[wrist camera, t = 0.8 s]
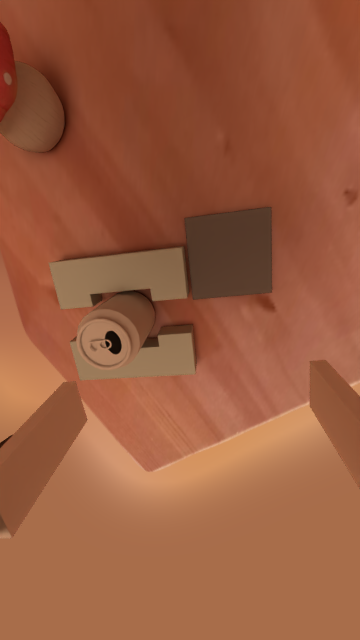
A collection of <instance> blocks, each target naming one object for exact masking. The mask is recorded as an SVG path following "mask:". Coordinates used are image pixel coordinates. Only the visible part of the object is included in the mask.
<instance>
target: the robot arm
mask: <svg viewBox="0 0 360 640" xmlns="http://www.w3.org/2000/svg"><path fill="white" fill-rule="evenodd" d="M310 407H311V408H312V411H313V412H314V414H315V416H316V417H317V419H318V421H319V422H320V424H321V426H322V427H323V429H324V431H325V432H326V434H327V435H328V437H329V439H330V440H331V442H332V444H333V445H334V447H335V449H336V450H337V452H338V454H339V455H340V457H341V459H342V460H343V462H344V463H345V465H346V467H347V469H348V470H349V472H350V474H351V475H352V477H353V479H354V480H355V482H356V484H357V485H358V487H359V489H360V396H359V395H358V394H357V393H356V392H355V391H354V390H353V389H352V388H351V387H350V386H349V384H348V383H347V382H346V381H345V380H344V379H343V378H342V377H341V376H340V375H339V374H338V373H337V372H336V371H335V370H334V369H333V368H332V366H331V365H330V364H329V363H328V362H327V361H326V360H319V361H310ZM86 421H87V417H86V414H85V410H84V407H83V404H82V401H81V397H80V394H79V391H78V388H77V384H76V381H73V382H64V383H62V385H61V386H60V387H59V388H58V389H57V390H56V391H55V392H54V393H53V394H52V395H51V396H50V397H49V398H48V399H47V400H46V401H45V402H44V403H43V404H42V405H41V406H40V408H38V409H37V411H36V412H35V413H34V414H33V415H32V416H31V417H30V418H29V419H28V420H27V421H26V422H25V423H24V424H23V425H22V426H21V427H20V428H19V429H18V430H17V432H15V433H14V434H13V435H11V436H10V437H8V438H7V439H5V440H4V441H2V442H1V443H0V538H12V537H13V536H14V534H15V533H16V531H17V530H18V528H19V526H20V525H21V523H22V522H23V520H24V519H25V517H26V516H27V514H28V512H29V511H30V509H31V508H32V506H33V505H34V503H35V501H36V500H37V498H38V497H39V495H40V494H41V492H42V490H43V489H44V487H45V486H46V484H47V482H48V481H49V479H50V478H51V476H52V475H53V473H54V472H55V470H56V469H57V467H58V465H59V463H60V462H61V461H62V459H63V458H64V456H65V454H66V453H67V451H68V450H69V448H70V447H71V445H72V443H73V442H74V440H75V439H76V437H77V436H78V434H79V433H80V431H81V429H82V428H83V426H84V425H85V423H86Z"/></svg>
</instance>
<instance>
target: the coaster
mask: <svg viewBox="0 0 360 640" xmlns="http://www.w3.org/2000/svg"><path fill="white" fill-rule="evenodd" d="M185 228H186V238H187V247H188V257H189V267H190V276H191V286H192V296H193V299H205V298H216V297H227V296H238V295H249V294H261V293H272V224H271V207H266V208H259V209H251V210H243V211H236V212H228V213H220V214H213V215H205V216H197V217H190V218H185Z"/></svg>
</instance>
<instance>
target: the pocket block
mask: <svg viewBox="0 0 360 640" xmlns="http://www.w3.org/2000/svg"><path fill="white" fill-rule="evenodd" d="M49 267H50V270H51V274H52V278H53V281H54V285H55V289H56V293H57V296H58V300H59V304H60V307H61V309H71V308H82V307H93V306H94V305H96V304H97V303H99V302H100V301H102V296H101V293H108V292H119V291H129V290H139V289H151V296H152V301H160V300H171V299H182V298H187V297H188V294H189V288H188V278H187V269H186V260H185V250H184V246H179V247H171V248H162V249H154V250H145V251H136V252H128V253H119V254H111V255H102V256H94V257H85V258H76V259H68V260H60V261H56V262H51V263H49ZM76 339H77V336H76V337H75V338H74V339H73V340H71V341H70V344H71V348H72V352H73V356H74V359H75V363H76V367H77V370H78V374H79V378H80V380H94V379H113V378H133V377H152V376H171V375H191V374H196V364H197V362H196V353H195V344H194V334H193V325H179V326H166V327H161V329H160V331H159V334H158V338H147V339H146V340H145V342H144V344H143V345H142V347H141V349H140V351H139V352H138V354H137V356H136V357H135V358H134V360H133V361H132V362H131V363H129V364H128V365H126V366H124V367H120V368H117V369H113V370H101V369H98V368H95V367H93V366H92V365H90V364H89V363H87V362H86V361H85V360H84V359H83V358H82V356H81V355H80V353H79V351H78V349H77V343H76Z"/></svg>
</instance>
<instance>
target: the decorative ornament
mask: <svg viewBox="0 0 360 640" xmlns="http://www.w3.org/2000/svg"><path fill="white" fill-rule="evenodd" d="M64 118H65V117H64V110H63V106H62V104H61V101H60V99H59V97H58V96H57V94H56V93H55V91H54V89H53V88H52V86H51V85H50V83H49V82H48V80H47V79H46V78H45V77H44V76H43V75H42V74H41V73H40V72H39V71H38V70H36V69H34V68H33V67H31V66H29V65H27V64H25V63H22V62H18V61H14V56H13V50H12V46H11V42H10V37H9V34H8V32H7V30H6V28H5V27H4V26H3V24H2V23H1V22H0V132H1V134H2V135H3V136H4V137H5V138H6V139H7V140H8V141H10V142H11V143H12V144H14V145H15V146H17V147H19V148H21V149H24V150H27V151H31V152H47V151H49V150H51V149H52V148H53V147H54V146H55V145H56V144H57V143H58V141H59V140H60V138H61V136H62V133H63V129H64V126H65V122H64Z"/></svg>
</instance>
